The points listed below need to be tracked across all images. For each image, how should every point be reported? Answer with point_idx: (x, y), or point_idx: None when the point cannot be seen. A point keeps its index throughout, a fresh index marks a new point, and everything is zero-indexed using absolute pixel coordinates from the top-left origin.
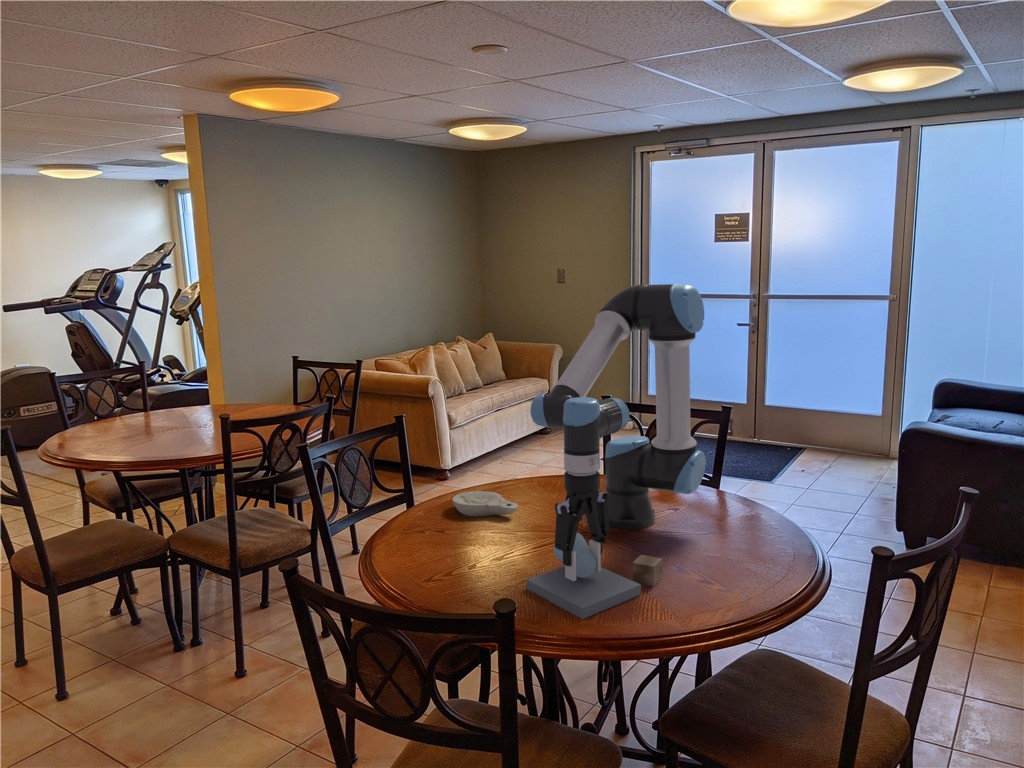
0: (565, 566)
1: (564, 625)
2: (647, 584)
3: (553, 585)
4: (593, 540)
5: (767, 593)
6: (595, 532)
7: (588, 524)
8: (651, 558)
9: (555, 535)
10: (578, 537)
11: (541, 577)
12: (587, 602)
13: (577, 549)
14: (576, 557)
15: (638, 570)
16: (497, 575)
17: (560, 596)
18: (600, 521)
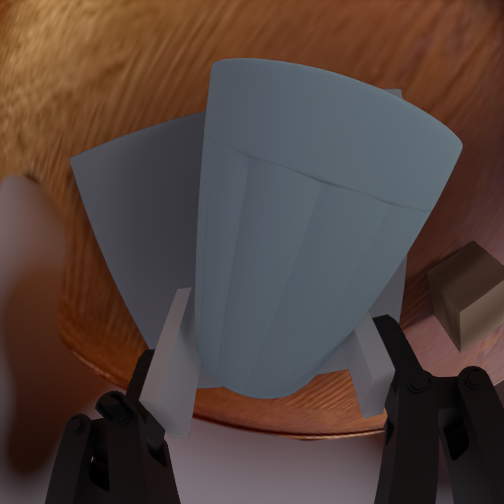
0: (165, 326)
1: (134, 361)
2: (434, 306)
3: (142, 252)
4: (385, 386)
5: (492, 375)
6: (384, 463)
7: (387, 499)
8: (500, 308)
9: (52, 478)
10: (392, 237)
11: (124, 163)
12: (199, 378)
13: (253, 362)
14: (215, 377)
15: (449, 310)
16: (67, 11)
17: (139, 325)
18: (469, 478)
